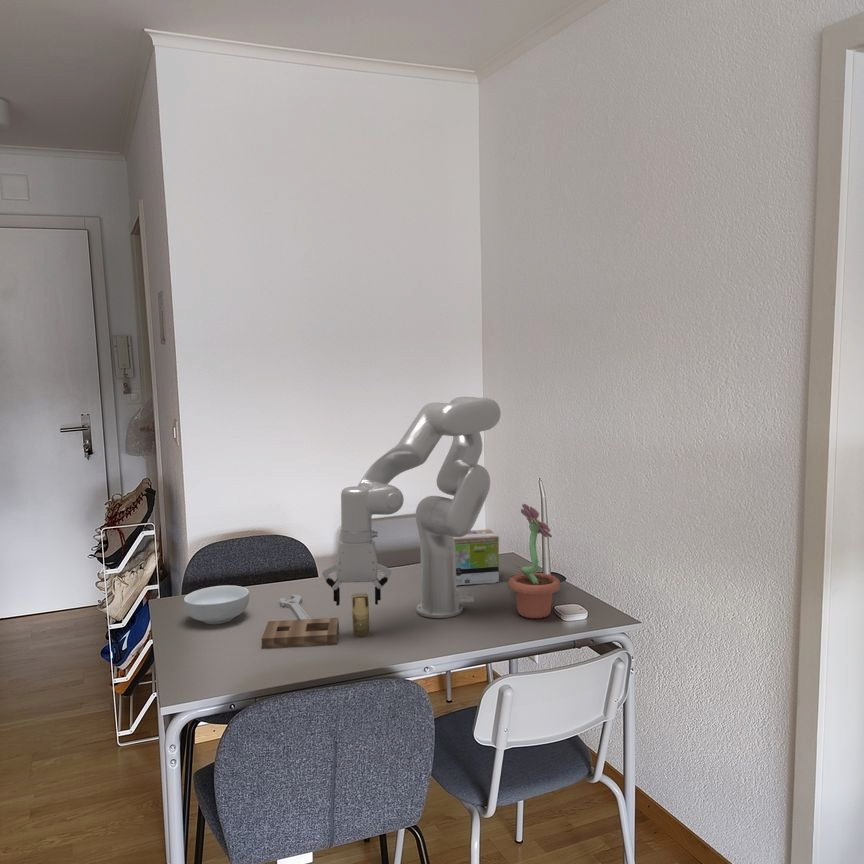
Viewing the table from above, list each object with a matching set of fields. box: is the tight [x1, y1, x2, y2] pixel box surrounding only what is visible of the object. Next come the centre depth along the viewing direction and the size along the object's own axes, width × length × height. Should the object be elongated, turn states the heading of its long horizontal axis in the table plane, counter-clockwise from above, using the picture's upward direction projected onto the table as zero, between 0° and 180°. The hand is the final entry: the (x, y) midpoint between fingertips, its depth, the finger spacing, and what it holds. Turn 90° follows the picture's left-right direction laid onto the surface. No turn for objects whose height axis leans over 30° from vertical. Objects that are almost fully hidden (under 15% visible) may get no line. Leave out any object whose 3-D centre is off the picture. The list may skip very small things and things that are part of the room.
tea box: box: [453, 529, 500, 586], centre depth 237 cm, size 15×10×15 cm, turn 102°
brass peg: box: [351, 592, 371, 638], centre depth 196 cm, size 4×4×10 cm
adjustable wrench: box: [279, 594, 312, 620], centre depth 213 cm, size 25×6×2 cm, turn 18°
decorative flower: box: [507, 503, 562, 619], centre depth 205 cm, size 15×14×30 cm
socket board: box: [261, 617, 340, 649], centre depth 195 cm, size 18×12×2 cm, turn 94°
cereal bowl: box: [183, 584, 250, 625], centre depth 210 cm, size 17×17×7 cm
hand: (357, 603), depth 195 cm, fingers open, 9 cm apart
